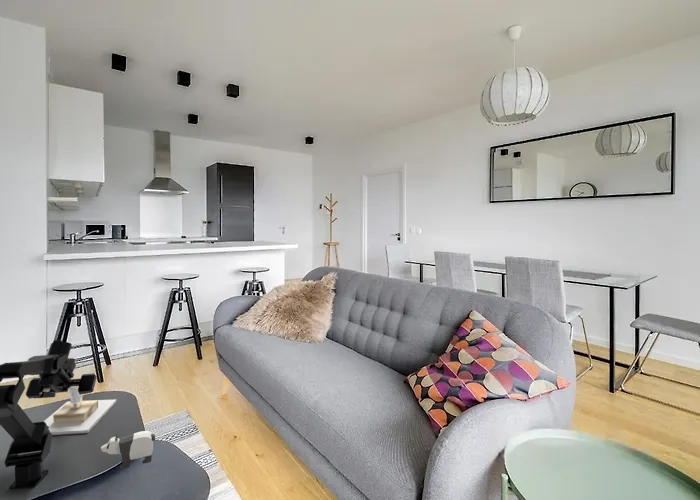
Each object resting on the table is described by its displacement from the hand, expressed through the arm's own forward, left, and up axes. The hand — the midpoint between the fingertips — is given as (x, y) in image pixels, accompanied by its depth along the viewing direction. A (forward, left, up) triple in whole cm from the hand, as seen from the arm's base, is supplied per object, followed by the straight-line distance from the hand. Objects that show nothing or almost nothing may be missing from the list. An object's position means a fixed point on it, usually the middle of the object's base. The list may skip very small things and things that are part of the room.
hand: (70, 394), depth 131 cm
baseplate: (+6, +1, -12) cm, 13 cm away
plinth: (+6, +1, -12) cm, 13 cm away
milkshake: (+5, +1, -8) cm, 10 cm away
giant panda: (-23, -29, -12) cm, 39 cm away
